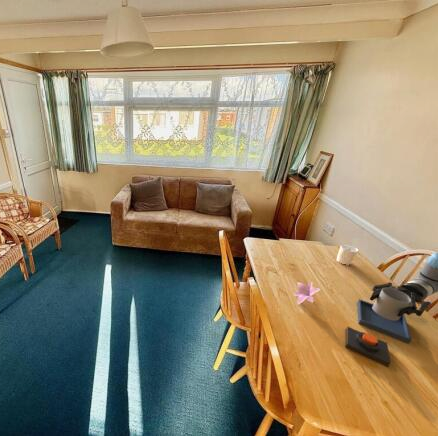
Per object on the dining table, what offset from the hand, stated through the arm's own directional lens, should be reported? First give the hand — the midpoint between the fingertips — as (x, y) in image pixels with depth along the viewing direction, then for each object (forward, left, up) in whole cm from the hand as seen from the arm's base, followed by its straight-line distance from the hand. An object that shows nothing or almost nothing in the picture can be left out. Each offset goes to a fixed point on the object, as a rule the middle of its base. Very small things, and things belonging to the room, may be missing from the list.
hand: (385, 305), depth 93 cm
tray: (-2, -4, -11) cm, 12 cm away
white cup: (+11, -49, -11) cm, 51 cm away
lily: (+26, +2, -11) cm, 28 cm away
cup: (-2, -4, -6) cm, 8 cm away
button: (+4, +16, -8) cm, 18 cm away
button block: (+4, +16, -11) cm, 20 cm away
